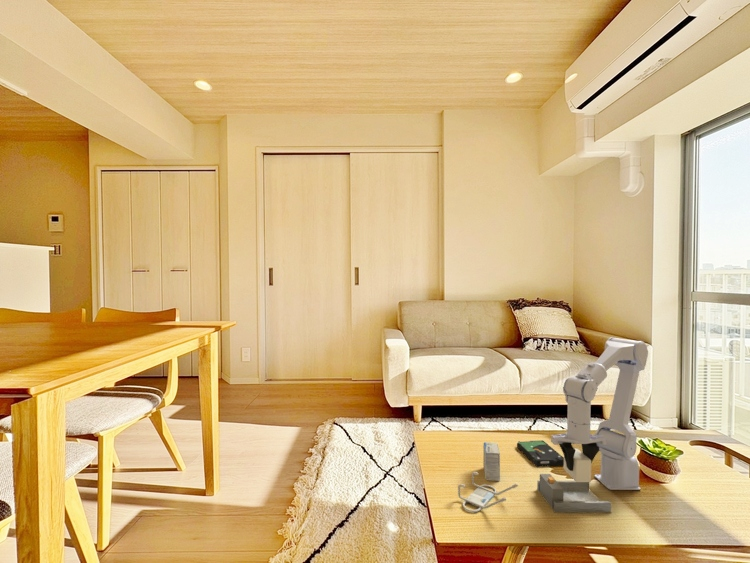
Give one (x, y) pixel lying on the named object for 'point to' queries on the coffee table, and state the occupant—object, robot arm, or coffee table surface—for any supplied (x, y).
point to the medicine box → (491, 461)
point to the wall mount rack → (481, 495)
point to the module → (580, 467)
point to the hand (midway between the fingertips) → (578, 469)
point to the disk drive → (541, 453)
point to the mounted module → (551, 489)
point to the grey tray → (578, 499)
